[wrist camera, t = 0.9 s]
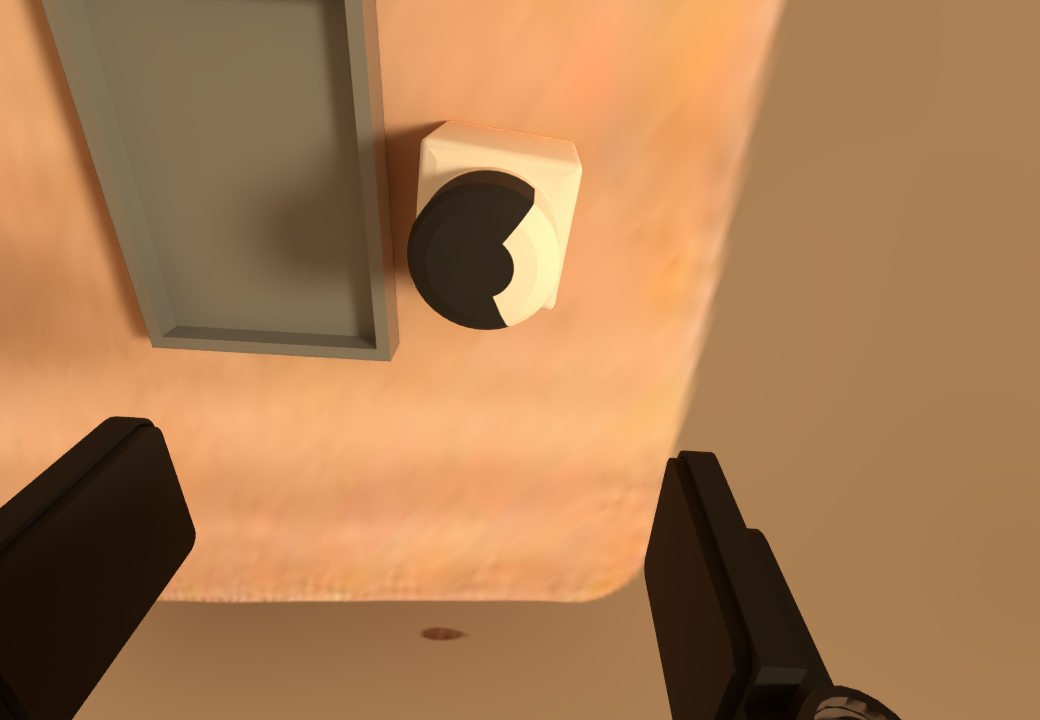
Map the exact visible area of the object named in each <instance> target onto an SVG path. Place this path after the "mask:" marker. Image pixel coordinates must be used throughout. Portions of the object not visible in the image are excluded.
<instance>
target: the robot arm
mask: <svg viewBox="0 0 1040 720" xmlns="http://www.w3.org/2000/svg"><path fill="white" fill-rule="evenodd" d="M195 538H196V532H195V528H194V525H193V522H192V519H191V516H190V513H189V510H188V507H187V504H186V502H185V499H184V496H183V493H182V490H181V487H180V484H179V481H178V478H177V475H176V472H175V469H174V466H173V463H172V460H171V457H170V454H169V451H168V448H167V445H166V443H165V440H164V437H163V434H162V432H161V430H160V429H159V428H158V427H155V426H154V424H153V422H151V421H150V420H149V419H146V418H135V417H118V416H115V417H110V418H108V419H106V420H105V421H103V422H102V423H101V424H100V425H99V426H98V427H96V428H95V429H94V430H93V431H92V432H90V433H89V434H88V435H87V436H86V437H84V438H83V439H82V440H81V441H80V442H78V443H77V444H76V445H75V446H74V447H73V448H71V449H70V450H69V451H68V452H67V453H65V454H64V455H63V456H62V457H61V458H59V459H58V460H57V461H56V462H55V463H53V464H52V465H51V466H50V467H49V468H48V469H46V470H45V471H44V472H43V473H42V474H40V475H39V476H38V477H37V478H36V479H34V480H33V481H32V482H31V483H30V484H28V485H27V486H26V487H25V488H24V489H23V490H21V491H20V492H19V493H18V494H17V495H15V496H14V497H13V498H12V499H11V500H9V501H8V502H7V503H6V504H5V505H3V506H2V507H1V508H0V720H72V719H73V717H74V716H75V715H76V713H77V712H78V710H79V709H80V707H81V706H82V705H83V703H84V702H85V700H86V699H87V698H88V696H89V695H90V693H91V692H92V690H93V689H94V688H95V686H96V685H97V683H98V682H99V681H100V679H101V678H102V676H103V675H104V673H105V672H106V670H107V669H108V668H109V666H110V665H111V663H112V662H113V661H114V659H115V658H116V656H117V655H118V653H119V652H120V651H121V649H122V647H123V646H124V645H125V643H126V642H127V641H128V639H129V638H130V637H131V635H132V634H133V632H134V631H135V629H136V628H137V627H138V625H139V624H140V622H141V621H142V620H143V618H144V617H145V615H146V614H147V613H148V611H149V610H150V608H151V607H152V605H153V604H154V603H155V601H156V600H157V598H158V597H159V596H160V594H161V593H162V591H163V590H164V588H165V587H166V586H167V584H168V583H169V581H170V580H171V578H172V577H173V576H174V574H175V573H176V571H177V570H178V569H179V567H180V566H181V564H182V563H183V561H184V560H185V559H186V557H187V556H188V554H189V553H190V551H191V550H192V548H193V545H194V543H195ZM644 571H645V580H646V586H647V591H648V596H649V601H650V606H651V611H652V617H653V622H654V627H655V631H656V637H657V642H658V647H659V652H660V657H661V663H662V668H663V673H664V678H665V683H666V688H667V694H668V698H669V703H670V709H671V714H672V719H673V720H901V719H900V718H899V717H898V715H897V714H895V713H894V712H893V711H892V710H890V709H889V708H888V707H886V706H885V705H884V704H882V703H881V702H880V701H879V700H877V699H875V698H873V697H871V696H869V695H867V694H865V693H863V692H861V691H859V690H856V689H852V688H849V687H845V686H841V685H836V686H834V685H833V683H832V680H831V678H830V676H829V674H828V672H827V670H826V667H825V666H824V663H823V661H822V659H821V657H820V654H819V652H818V650H817V648H816V646H815V644H814V641H813V639H812V637H811V635H810V633H809V631H808V628H807V626H806V624H805V622H804V620H803V617H802V616H801V613H800V611H799V609H798V607H797V604H796V602H795V600H794V598H793V596H792V594H791V592H790V589H789V587H788V585H787V583H786V581H785V579H784V576H783V574H782V572H781V570H780V568H779V565H778V563H777V561H776V559H775V557H774V554H773V553H772V550H771V548H770V546H769V544H768V542H767V540H766V538H765V536H764V535H763V533H762V532H760V531H759V530H758V529H749V528H746V525H745V523H744V520H743V518H742V516H741V513H740V511H739V509H738V507H737V504H736V502H735V499H734V497H733V495H732V492H731V490H730V488H729V485H728V483H727V481H726V478H725V476H724V474H723V471H722V469H721V467H720V464H719V462H718V460H717V458H716V456H715V454H714V453H712V452H699V451H680V453H679V454H678V457H677V458H669V460H668V462H667V465H666V470H665V474H664V478H663V483H662V487H661V491H660V496H659V500H658V504H657V509H656V513H655V517H654V522H653V526H652V531H651V535H650V539H649V544H648V548H647V552H646V557H645V564H644Z"/></svg>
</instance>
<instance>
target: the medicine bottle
mask: <svg viewBox="0 0 1040 720" xmlns="http://www.w3.org/2000/svg"><path fill="white" fill-rule="evenodd" d="M581 175H582V166H581V163H580V160H579V157H578V154H577V152H576V149H575V146H574V144H573V142H571V141H567V140H562V139H556V138H550V137H545V136H539V135H533V134H527V133H522V132H516V131H510V130H504V129H499V128H493V127H487V126H482V125H476V124H470V123H464V122H459V121H453V120H449V121H447V122H445V123H444V124H443V125H441V126H440V127H438V128H437V129H436V130H434V131H433V132H432V133H430V134H429V135H428V136H426V137H425V138H424V139H423V140H422V142H421V149H420V165H419V181H418V196H417V212H416V221H415V222H414V224H413V226H412V230H411V233H410V236H409V241H408V249H407V258H408V266H409V270H410V274H411V277H412V283H413V286H414V287H415V288H416V289H417V290H418V292H419V293H420V295H421V296H422V298H423V299H424V300H425V301H426V303H427V304H428V305H429V306H430V307H431V308H432V309H433V310H435V311H436V312H437V313H439V314H440V315H441V316H443V317H444V318H446V319H448V320H449V321H451V322H454V323H456V324H458V325H461V326H464V327H468V328H473V329H479V330H493V329H501V328H506V327H510V326H512V325H515V324H518V323H520V322H522V321H524V320H525V319H527V318H529V317H530V316H531V315H533V314H534V313H535V312H536V311H537V310H539V309H545V310H550V309H551V308H553V306H554V304H555V301H556V296H557V291H558V286H559V281H560V276H561V272H562V267H563V262H564V257H565V252H566V247H567V243H568V238H569V233H570V228H571V223H572V218H573V213H574V209H575V204H576V199H577V194H578V189H579V184H580V180H581Z"/></svg>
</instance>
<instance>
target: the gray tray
mask: <svg viewBox="0 0 1040 720" xmlns="http://www.w3.org/2000/svg"><path fill="white" fill-rule="evenodd" d="M41 1H42V4H43V7H44V11H45V14H46V17H47V20H48V23H49V26H50V29H51V32H52V35H53V39H54V42H55V45H56V48H57V51H58V54H59V57H60V60H61V64H62V67H63V70H64V73H65V76H66V79H67V82H68V85H69V88H70V92H71V95H72V98H73V101H74V104H75V107H76V110H77V113H78V117H79V120H80V123H81V126H82V129H83V132H84V135H85V138H86V141H87V145H88V148H89V151H90V154H91V157H92V160H93V163H94V166H95V170H96V173H97V176H98V179H99V182H100V185H101V188H102V191H103V194H104V198H105V201H106V204H107V207H108V210H109V213H110V216H111V219H112V223H113V226H114V229H115V232H116V235H117V238H118V241H119V244H120V247H121V251H122V254H123V257H124V260H125V263H126V266H127V269H128V272H129V276H130V279H131V282H132V285H133V288H134V291H135V294H136V297H137V301H138V304H139V307H140V310H141V313H142V316H143V319H144V322H145V325H146V329H147V332H148V335H149V338H150V341H151V344H152V347H153V348H170V349H187V350H204V351H221V352H238V353H255V354H272V355H289V356H306V357H323V358H340V359H357V360H374V361H391V360H392V358H393V356H394V354H395V352H396V349H397V347H398V345H399V331H398V317H397V302H396V288H395V274H394V259H393V245H392V230H391V216H390V201H389V187H388V172H387V158H386V143H385V129H384V114H383V100H382V85H381V71H380V56H379V42H378V27H377V13H376V0H41Z"/></svg>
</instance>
